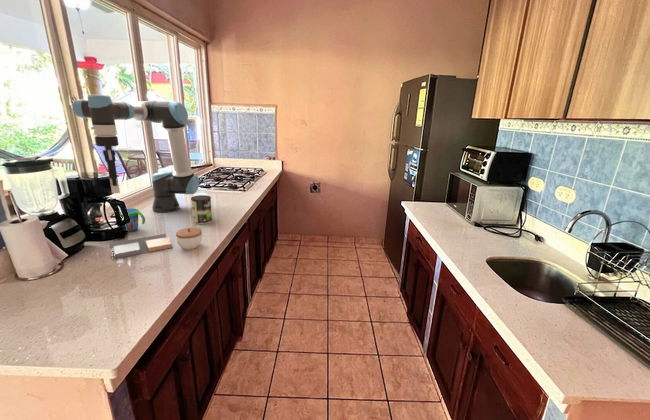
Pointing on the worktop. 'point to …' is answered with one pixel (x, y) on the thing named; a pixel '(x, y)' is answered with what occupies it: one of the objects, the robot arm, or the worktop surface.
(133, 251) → the white square tile
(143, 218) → the snack cup
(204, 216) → the coffee can
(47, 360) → the worktop surface
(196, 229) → the lidded jar
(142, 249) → the mat
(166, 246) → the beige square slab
